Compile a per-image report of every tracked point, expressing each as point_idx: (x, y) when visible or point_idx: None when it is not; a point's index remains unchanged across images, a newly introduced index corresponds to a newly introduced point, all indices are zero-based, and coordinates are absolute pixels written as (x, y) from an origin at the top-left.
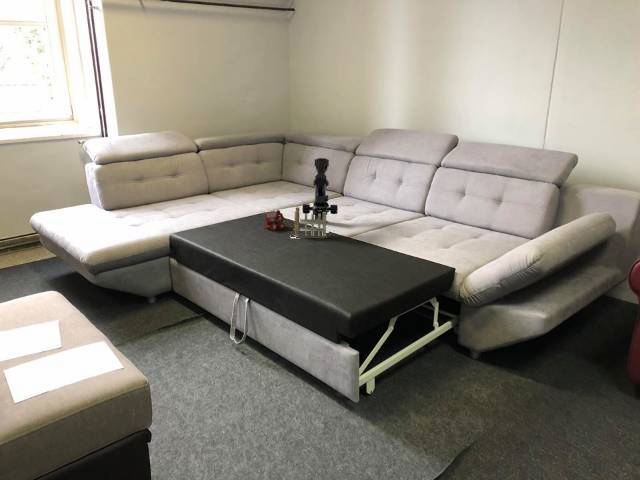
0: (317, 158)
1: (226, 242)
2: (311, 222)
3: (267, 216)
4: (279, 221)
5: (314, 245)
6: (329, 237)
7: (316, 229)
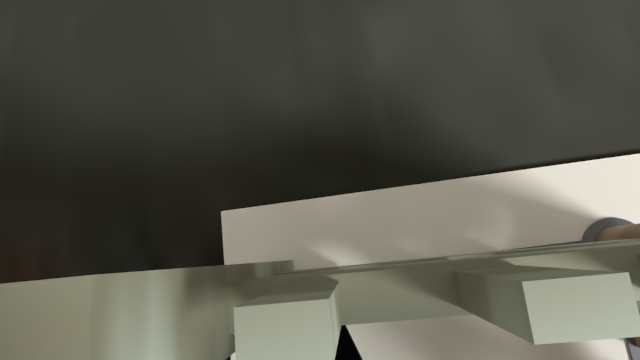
0: None
1: None
2: (487, 256)
3: None
4: None
5: (337, 6)
6: None
7: (368, 264)
